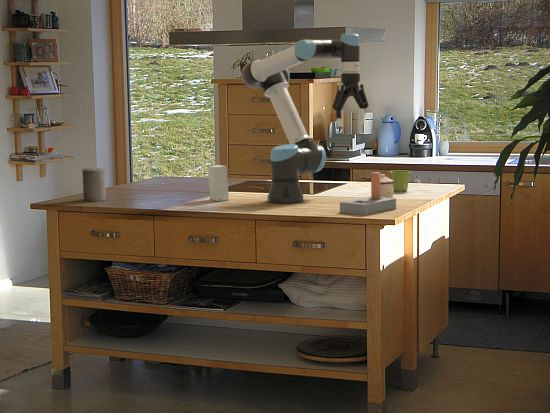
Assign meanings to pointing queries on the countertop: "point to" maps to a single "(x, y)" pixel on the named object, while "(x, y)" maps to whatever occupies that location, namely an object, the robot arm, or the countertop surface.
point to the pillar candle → (94, 184)
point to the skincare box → (218, 183)
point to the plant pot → (400, 180)
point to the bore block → (367, 205)
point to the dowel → (375, 186)
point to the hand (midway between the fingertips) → (350, 125)
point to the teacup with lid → (386, 186)
